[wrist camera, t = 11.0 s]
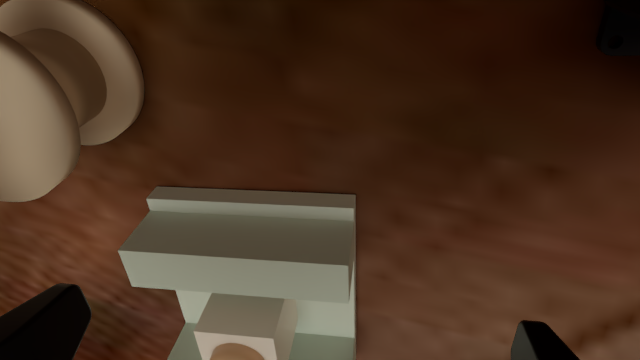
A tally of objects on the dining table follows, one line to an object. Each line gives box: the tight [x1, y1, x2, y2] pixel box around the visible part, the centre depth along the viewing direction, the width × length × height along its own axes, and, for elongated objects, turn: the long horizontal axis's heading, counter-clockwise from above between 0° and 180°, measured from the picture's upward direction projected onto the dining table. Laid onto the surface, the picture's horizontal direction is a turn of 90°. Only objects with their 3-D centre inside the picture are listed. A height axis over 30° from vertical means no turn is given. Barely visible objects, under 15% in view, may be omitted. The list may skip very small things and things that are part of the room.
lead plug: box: [193, 293, 298, 360], centre depth 23 cm, size 4×4×6 cm
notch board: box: [118, 186, 356, 360], centre depth 24 cm, size 11×13×4 cm
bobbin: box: [0, 0, 145, 202], centre depth 18 cm, size 7×7×6 cm
